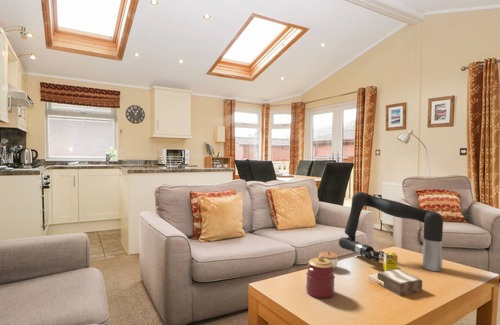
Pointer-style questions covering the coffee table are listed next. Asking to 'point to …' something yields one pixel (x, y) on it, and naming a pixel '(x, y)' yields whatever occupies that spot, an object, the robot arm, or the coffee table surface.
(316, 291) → the canister
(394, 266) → the supplement box
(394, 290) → the silver-topped wooden block
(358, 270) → the coffee table surface
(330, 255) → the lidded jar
